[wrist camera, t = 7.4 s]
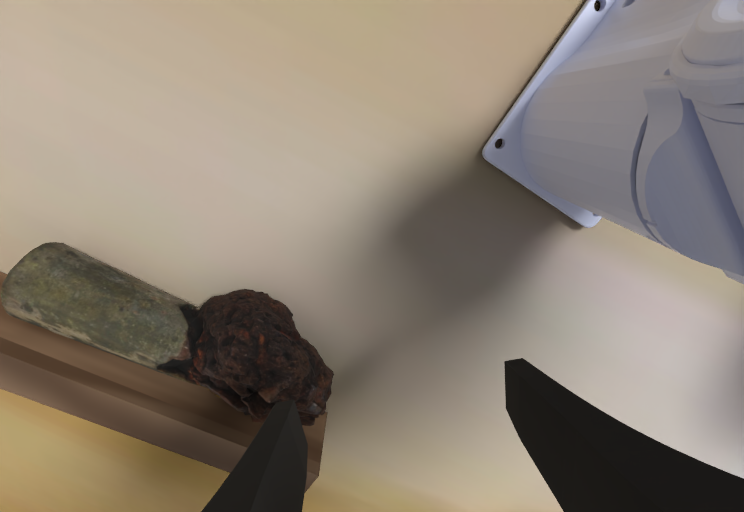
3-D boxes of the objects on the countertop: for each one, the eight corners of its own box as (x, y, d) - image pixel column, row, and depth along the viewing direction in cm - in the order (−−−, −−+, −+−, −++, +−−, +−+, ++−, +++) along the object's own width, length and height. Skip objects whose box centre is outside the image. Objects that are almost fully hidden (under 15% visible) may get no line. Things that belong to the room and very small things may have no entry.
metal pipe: (62, 293, 22) (-33, 349, 17) (84, 201, 20) (-17, 231, 15) (316, 394, 25) (303, 466, 20) (358, 324, 23) (356, 385, 18)
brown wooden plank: (-28, 259, 21) (-135, 300, 16) (327, 412, 26) (318, 475, 21) (-33, 291, 22) (-137, 338, 17) (311, 433, 27) (300, 498, 22)
